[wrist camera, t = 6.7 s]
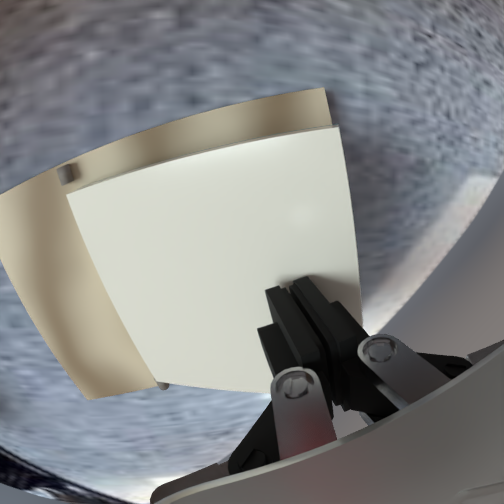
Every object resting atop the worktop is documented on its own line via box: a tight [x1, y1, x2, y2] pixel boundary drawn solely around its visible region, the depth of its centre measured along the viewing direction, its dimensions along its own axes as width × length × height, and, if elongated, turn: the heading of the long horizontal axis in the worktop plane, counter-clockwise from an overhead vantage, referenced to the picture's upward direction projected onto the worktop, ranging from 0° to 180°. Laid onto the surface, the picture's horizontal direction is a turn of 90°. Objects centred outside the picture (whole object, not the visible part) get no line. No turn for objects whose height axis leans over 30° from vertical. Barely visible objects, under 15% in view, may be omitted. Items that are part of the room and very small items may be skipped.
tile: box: [66, 124, 363, 393], centre depth 14 cm, size 1×12×12 cm
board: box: [0, 87, 332, 400], centre depth 17 cm, size 20×15×2 cm
